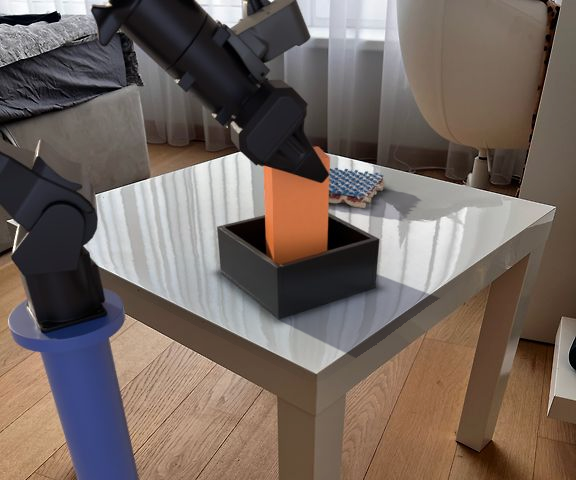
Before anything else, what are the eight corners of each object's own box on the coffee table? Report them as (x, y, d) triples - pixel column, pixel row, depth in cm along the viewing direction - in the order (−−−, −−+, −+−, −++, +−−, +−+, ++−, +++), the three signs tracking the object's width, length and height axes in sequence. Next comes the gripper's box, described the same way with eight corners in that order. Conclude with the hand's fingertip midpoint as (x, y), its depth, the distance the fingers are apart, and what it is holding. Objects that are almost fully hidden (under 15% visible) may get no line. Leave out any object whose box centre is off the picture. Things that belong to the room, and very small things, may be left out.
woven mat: (294, 199, 87) (294, 185, 86) (322, 178, 95) (322, 164, 94) (364, 210, 84) (365, 195, 83) (387, 186, 92) (388, 172, 91)
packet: (274, 289, 64) (271, 162, 56) (266, 273, 67) (262, 150, 60) (326, 283, 65) (330, 157, 58) (316, 267, 68) (318, 146, 61)
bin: (278, 319, 60) (277, 267, 57) (220, 273, 68) (216, 226, 65) (375, 287, 65) (379, 238, 62) (311, 248, 74) (311, 203, 70)
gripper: (278, -41, 42) (411, 119, 51) (226, -46, 56) (336, 79, 65) (176, 93, 45) (318, 222, 53) (151, 56, 59) (266, 162, 68)
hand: (310, 164), depth 60 cm, fingers open, 9 cm apart
